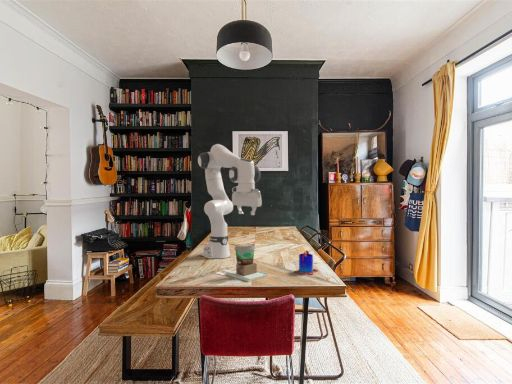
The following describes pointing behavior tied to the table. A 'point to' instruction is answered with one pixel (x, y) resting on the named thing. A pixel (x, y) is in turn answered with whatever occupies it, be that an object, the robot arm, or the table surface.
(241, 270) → the walnut block
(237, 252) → the food container
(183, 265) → the table surface
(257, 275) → the building board
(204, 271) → the table surface
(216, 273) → the page
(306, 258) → the fantasy tower
